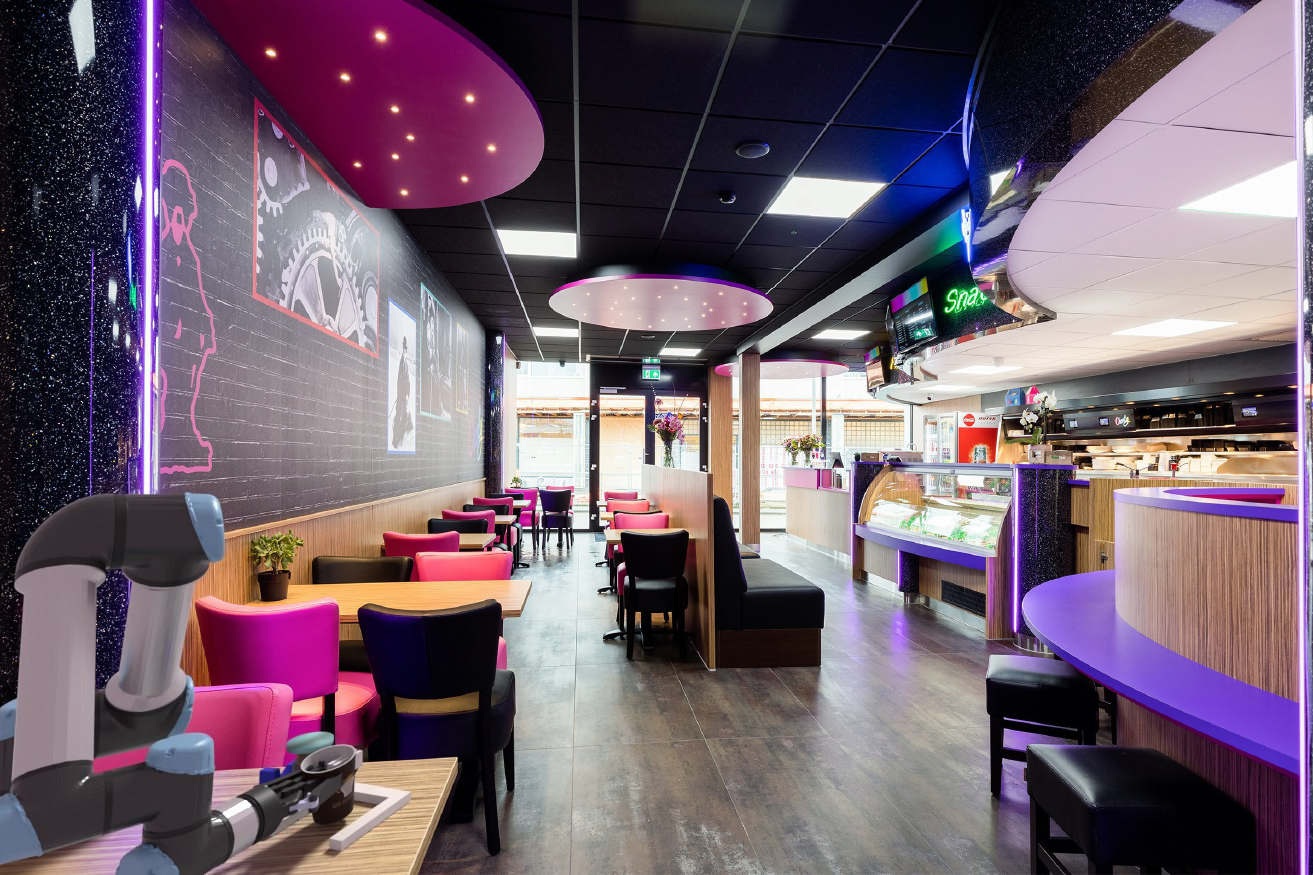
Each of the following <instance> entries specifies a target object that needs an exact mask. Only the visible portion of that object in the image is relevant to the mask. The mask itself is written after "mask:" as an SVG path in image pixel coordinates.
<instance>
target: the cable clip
mask: <svg viewBox="0 0 1313 875" xmlns="http://www.w3.org/2000/svg"><path fill="white" fill-rule="evenodd" d="M296 759H297V756H296V757H295V759H293V760H292V761H290V762H289V763H287V764H286V765H285V767H284V769H283V770H282V772H281V768H280V767H268V766H266V767H263V768H262V769H260V770H259V776H258V777H259V778H258V779H259V780H258V784H262V783H266V782H269V781H272V780H274V779H277V778H279V777H282V776H284V775H287V774H289V773H292V763H293V761H295V760H296Z"/></svg>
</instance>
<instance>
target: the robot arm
mask: <svg viewBox="0 0 1313 875" xmlns="http://www.w3.org/2000/svg"><path fill="white" fill-rule="evenodd" d="M225 536H226V535H225V525H224V518H223V511H222V507H221V503H220V501H219V500H218V498H217V497H216V496H215V495H213V494H209V493H191V492H189V491H186V492H184V493H152V494H151V493H126V494H125V493H123V494H121V493H118V494H117V493H115V494H114V493H100V494H99V493H98V494H94V495H89V496H85V497H82V498H79V499H77V500H74V501H72V502H70V503H69V504H66V505H65V506H63V507H62V508H60V509H59V510H57V511H56V512H54V513H53V514H51V515H50V516H49V517H48V518H47V519H45V521H43V522H42V524H40V525H39V526H38V527H37V529H35V531H33V533H32V535H31V536H30V537H29V539H28V540H27V541H26V543H25V545H24V547H23V548H22V550H21V553H20V555H19V557H18V559H17V563H16V565H15V567H16V568H15V575H14V589H15V591H17V592H18V593H20V594H22V595H23V606H22V621H21V622H22V623H21V636H20V652H19V666H18V667H19V668H18V679H17V681H18V682H17V695H16V696H17V697H16V698H15V699H12V700H11V701H9V702H7V703H5V704H3V705H2V706H1V707H0V865H5V864H7V863H11V862H16V861H20V860H24V859H29V858H32V857H41V856H43V854H47V853H50V852H53V851H56V850H59V849H62V848H65V847H68V846H72V845H76V844H79V843H82V842H85V841H88V840H93V839H95V838H98V837H103V836H104V835H110V834H113V833H116V832H120V831H123V830H126V829H130V828H134V827H136V826H140V825H142V830H141V831H142V832H141V843H140V844H139V845H136V846H135V847H134V848H133V849H131V850H129V851H127V853H125V854H124V855H123V856H122V857H121V858H120V859H119V860H120V861H119V863H118V866H117V867H116V870H115V874H114V875H206V874H208V873H209V872H211V871H213V870H215V869H217V867H219V866H221V865H224V864H226V863H227V862H228V861H229V860H231V859H232V858H234V857H235V856H237V855H239V854H241V853H242V852H244V851H246V850H248V849H249V848H250V847H253V846H254V845H257V844H258V843H260V842H261V841H264V840H265V839H266V838H268V837H271V836H270V835H271V834H273V833H274V832H275V831H276V829H277V828H278V826H279V825H280V823H281V822H282V820H283V819H284V818H286V817H288V816H291V815H294V814H295V813H297V812H298V810H299V809H307V810H308V813H309V814H312V813H315V812H316V811H317V810H318V808H319V806H320V805H321V804H322V803H323V802H324V801H326V800H327V799H328V798H329V797H330V796H332V795H333V794H334V793H335V792H336V791H338V790H339V789H340V788H341V787H342V786H344V780H343V779H342V780H341V777H342V775H343V774H342V773H340V774H337V775H333V776H330V777H329V778H328V779H326V780H325V781H324V782H323V781H322V778H312V779H311V780H309V781H307V778H306V776H304V775H302V770H301V769H299V770H297V771H294V772H292V773H289V774H287V775H284V776H282V777H279V778H277V779H274V780H272V781H269V782H266V783H262V784H259V783H258V784H256V785H255V784H254V786H252V788H251V789H248V790H247V791H245V792H243V793H241V794H239V795H237V796H235V797H232V798H230V799H229V800H227V801H225V802H223V803H221V804H219V805H216V806H215V807H214V808H212V803H213V790H214V789H213V788H214V774H215V771H216V765H215V749H214V748H215V745H214V740H213V738H212V737H211V736H210V735H209V734H207V733H202V732H187V733H186V731H187V729H188V727H189V724H190V722H191V719H192V714H193V710H194V708H193V705H194V704H195V703H194V702H195V686H194V681H193V679H192V677H191V676H190V675H187V674H186V673H185V671H184V669H182V668H181V667H180V666H181V660H182V655H183V649H184V646H185V645H184V644H185V639H186V632H187V628H188V623H189V617H190V613H191V607H192V602H193V597H194V590H195V586H196V582H198V581H200V580H202V578H203V577H204V576H206V574H207V572H208V571H209V569H210V563H211V564H215V563H217V562H221V561H222V560H223V558H224V557H225V553H226V537H225ZM118 569H121V570H122V574H123V575H124V577H126V579H127V580H128V581H129V582H131V588H130V594H129V602H128V608H127V615H126V622H125V628H124V630H125V631H124V637H123V643H122V650H121V655H120V656H121V657H120V662H119V669H118V671H117V672H116V673H115V674H113V675H112V676H111V678H110V679H109V680H108V681H107V684H106V685H105V686H106V687H105V688H101V689H96V649H97V648H96V645H97V644H96V642H97V641H96V636H97V635H96V634H97V596H98V595H97V588H98V587H99V586H101V585H102V584H103V583H104V582H105V581H106V580H107V570H118ZM147 748H148V749H147ZM143 749H147V752H146V756H145V757H144V761H141V762H136V763H133V764H129V765H124V766H121V767H116V768H112V769H109V770H105V771H98V772H96V773H95V772H94V760H95V759H100V758H106V757H109V756H110V757H111V756H115V755H118V754H120V755H121V754H123V753H128V752H132V751H137V750H143ZM355 750H356V760H355V769H357V768H358V769H359V768H361V767H362V766H363V759H362V757H363V758H364V756H363V750H360V749H359V750H358V749H357V748H356V749H355ZM349 759H350V758H349V757H346V758H345V757H343V756H341V757H339V758H337V759H335V760H334V761H332V762H330V763H328V764H327V765H325V760H321V761H319V766H317V767H316V768H314V765H309V766H308V767H307V768H306V769H305V770H306V771H309V772H322V771H327V770H330V769H333V768H336V767H338V766H340V765H342V764H344V763H345V762H347V761H348V760H349Z"/></svg>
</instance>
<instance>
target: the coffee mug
mask: <svg viewBox="0 0 1313 875" xmlns="http://www.w3.org/2000/svg"><path fill="white" fill-rule="evenodd" d="M358 748H359V750H363V757H362V760H363V758H364V755H365V749H364V745H363V744H360V743H359V744H354V745H350V744H336V745H335V744H332V745H331V746H329V747H326V748H323V749H320V750H318V751H316V752H314V753H312V754H311V755H309V756H308V757H306V758H305V759H304V760H303V762H302V763H301V770H302V775H304V776H306V778H307V781H309V780H311V779H312V778H322V781H323V782H324V781H325V780H326V779H328V778H329V777H330V776H333V775H337V774H340V773H342V774H343V775H342V777H341V780H342V779H343V780H344V786H342V787H341V788H340V789H339V790H338V791H336V792H335V793H334V794H333V795H332V796H330V797H329V798H328V799H327V800H326V801H324V802H323V803H322V804H321V805H320V806H319V808H318V810H317V811H316V812H315V813H311V816H312V821H313V822H314V824H316V825H319V826H324V825H325V826H327V825H332V824H335V823H338V822H340V821H343V820H344V819H346V818H347V817H348V816H349V815H350V814H351V813H352V812H353V810H354V806H355V805H354V804H355V803H354V802H355V800H354V784H355V781H356V780H355V779H356V774H357V772H358V770H359V768H357V769H355V760H356V750H357V749H358ZM355 749H356V750H355ZM341 756H343V757H345V758H346V757H349V758H350V759H349V760H348V761H347V762H345V763H344V764H342V765H340V766H338V767H336V768H333V769H330V770H327V771H322V772H309V771H306V770H305V769H306V768H307V767H308V766H309V765H314V768H316V767H317V766H319V761H321V760H325V765H327V764H328V763H330V762H332V761H334V760H335V759H337V758H339V757H341Z"/></svg>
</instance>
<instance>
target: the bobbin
mask: <svg viewBox="0 0 1313 875" xmlns="http://www.w3.org/2000/svg"><path fill="white" fill-rule="evenodd" d="M334 736H335V735H334V734H333V733H331V732H328V731H315V732H313V731H312V732H309V733H303V734H299V735H297V736H295V737H293V738H292V737H291V739H289V740H288V741H287V742H286V748H285V749H286V752H287V753H288V754H291V755H296V757H297V759H296V758H295V759H296V760H295V759H294V760H295V761H293V760H292V761H293V763H292V772H294V771H297V770H299V769H301V763H302V762H303V760H304V759H305V758H306V757H308V756H309V755H311V754H312V753H314V752H316V751H318V750H320V749H323V748H326V747H329V746H333V745H334V741H335V737H334Z"/></svg>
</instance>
